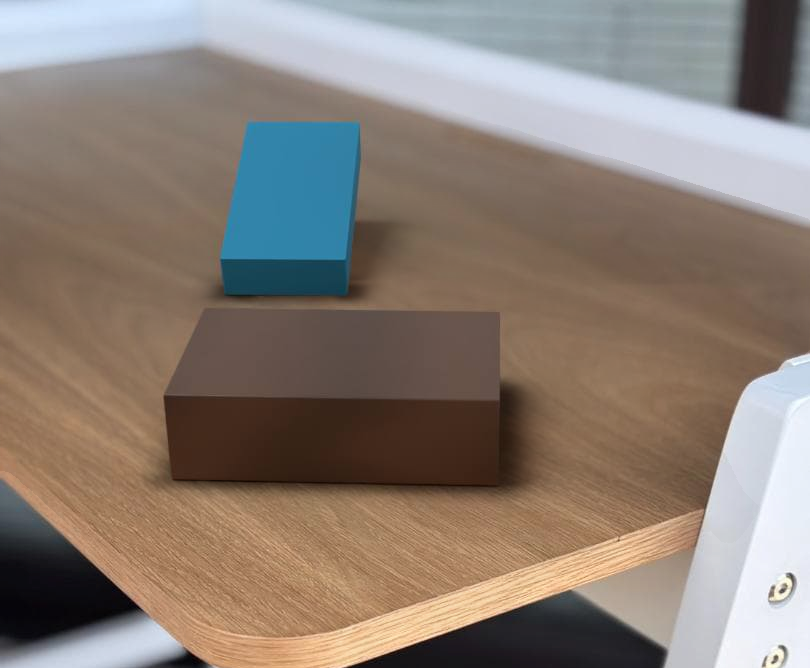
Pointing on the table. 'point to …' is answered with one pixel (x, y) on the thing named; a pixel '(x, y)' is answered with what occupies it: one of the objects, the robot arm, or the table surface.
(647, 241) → the table surface
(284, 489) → the table surface
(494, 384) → the walnut block
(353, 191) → the blue rectangular block
